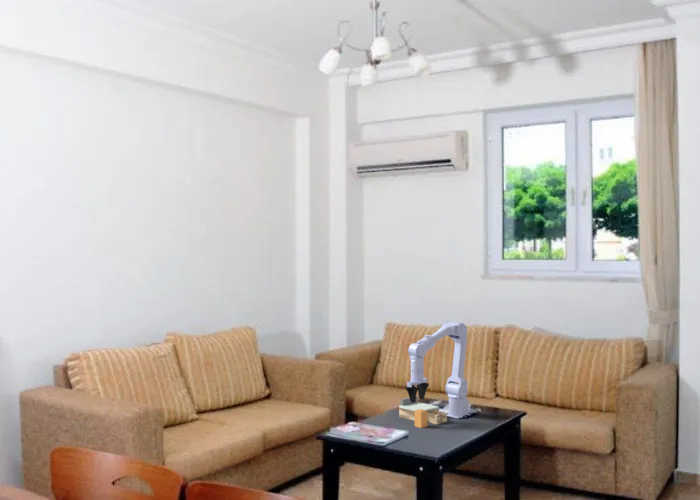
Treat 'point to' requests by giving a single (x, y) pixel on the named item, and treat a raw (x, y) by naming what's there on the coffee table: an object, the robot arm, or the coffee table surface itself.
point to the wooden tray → (432, 416)
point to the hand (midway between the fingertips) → (417, 400)
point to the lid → (416, 405)
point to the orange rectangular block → (421, 418)
